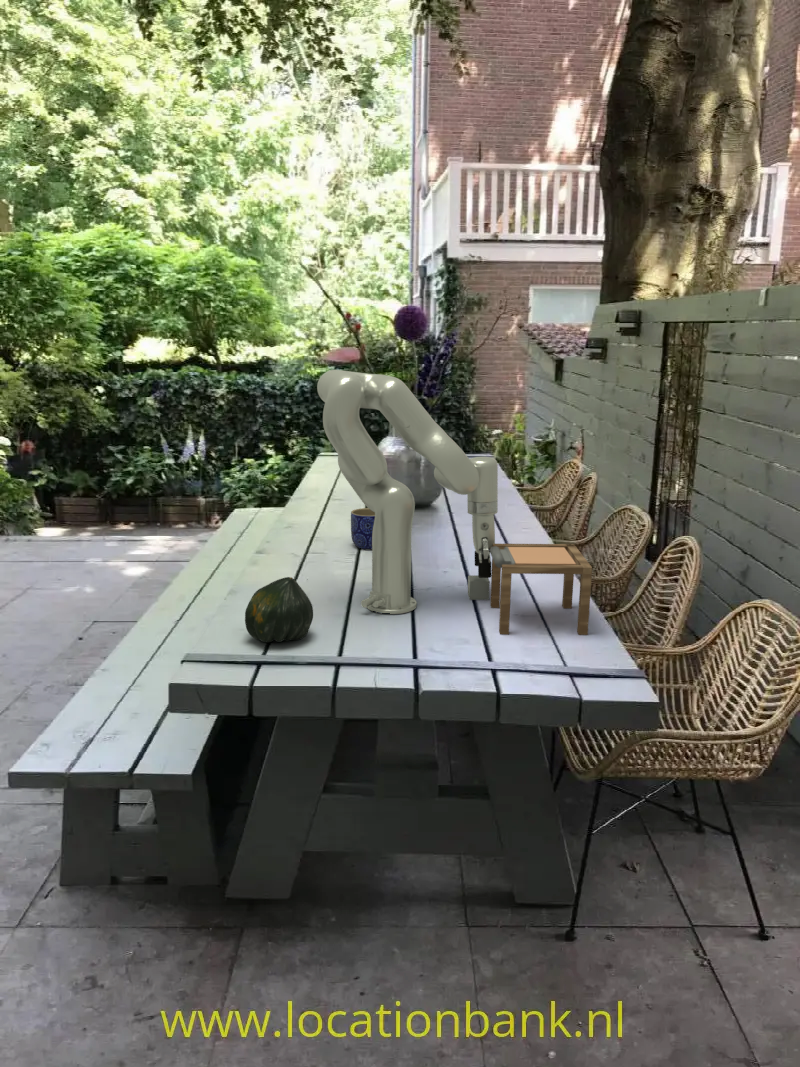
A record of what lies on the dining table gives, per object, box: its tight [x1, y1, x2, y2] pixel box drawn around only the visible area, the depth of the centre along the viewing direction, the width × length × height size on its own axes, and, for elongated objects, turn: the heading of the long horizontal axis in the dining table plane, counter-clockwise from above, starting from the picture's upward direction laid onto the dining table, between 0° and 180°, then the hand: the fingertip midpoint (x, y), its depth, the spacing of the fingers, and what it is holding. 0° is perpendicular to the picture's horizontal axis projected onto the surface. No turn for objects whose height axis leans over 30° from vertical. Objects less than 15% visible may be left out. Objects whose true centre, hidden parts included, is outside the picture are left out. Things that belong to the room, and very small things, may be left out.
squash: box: [244, 576, 314, 643], centre depth 192 cm, size 14×15×15 cm
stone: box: [467, 574, 491, 601], centre depth 222 cm, size 5×5×5 cm
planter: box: [350, 507, 375, 550], centre depth 267 cm, size 11×11×11 cm
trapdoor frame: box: [490, 543, 593, 636], centre depth 205 cm, size 20×20×16 cm
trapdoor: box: [490, 546, 576, 569], centre depth 203 cm, size 14×18×2 cm
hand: (482, 571), depth 222 cm, fingers open, 9 cm apart
